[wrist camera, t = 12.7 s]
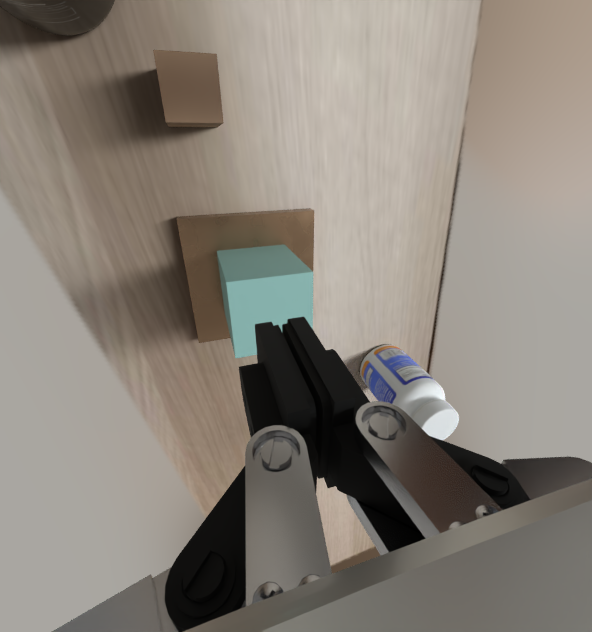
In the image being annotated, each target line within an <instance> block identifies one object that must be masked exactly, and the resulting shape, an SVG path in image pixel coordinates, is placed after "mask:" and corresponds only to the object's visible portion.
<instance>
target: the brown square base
mask: <svg viewBox="0 0 592 632" xmlns="http://www.w3.org/2000/svg"><path fill="white" fill-rule="evenodd" d="M177 225H178V230H179V236H180V241H181V247H182V252H183V258H184V263H185V269H186V274H187V280H188V285H189V291H190V297H191V302H192V308H193V313H194V319H195V324H196V330H197V335H198V341H199V343H202V342H208V341H214V340H220V339H226V338H231V337H230V333H229V328H228V324H227V320H226V316H225V310H224V303H223V295H222V288H221V280H220V273H219V265H218V257H217V251H220V250H231V249H241V248H252V247H262V246H273V245H284V244H285V245H286V246H287V247H288V248H289V249H290V250H291V251H292V252H293V253H294V254H295V255H296V256H297V257H298V258H299V259H300V260H301V261H302V262H303V263H304V264H305V265H307V266H308V267H309V268H310V269H311V270H312V271H313V248H314V210H312V209H294V210H278V211H262V212H246V213H230V214H214V215H198V216H182V217H177Z"/></svg>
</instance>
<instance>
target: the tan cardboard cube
mask: <svg viewBox="0 0 592 632" xmlns="http://www.w3.org/2000/svg"><path fill="white" fill-rule="evenodd" d="M153 51H154V57H155V63H156V69H157V74H158V80H159V86H160V92H161V98H162V103H163V109H164V115H165V121H166V123H167V125H168V126H169V127H218V126H220V125H221V124H223V114H222V104H221V94H220V84H219V74H218V64H217V54H210V53H195V52H179V51H163V50H153Z"/></svg>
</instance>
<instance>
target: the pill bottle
mask: <svg viewBox="0 0 592 632" xmlns="http://www.w3.org/2000/svg"><path fill="white" fill-rule="evenodd" d="M360 375H361V378H362V380H363V381H364V383H365V384H366V386H367V387H368V388H369V389H370V391H371V392H372V393H373V395H374V396H375V397H376V398H377V400H378V401H383V402H387V403H391V404H393V405H395V406H398V407H399V408H401V409H402V410H403V411H405V412H406V413H407V414H408V415H409V416H410V417H411V418H412V419H413V420H414V421H415V422H416V423H417V424H418V425H419V426H420V427H421V428H422V429H423V430H424V431H425V432H426V433H427V434H428V435H429V436H431V437H434V438H437V439H439V440H444V439H445V438H447V437H448V436H449V435H450V434H451V433H452V432H453V431H454V430H455V428H456V426H457V425H458V422H459V416H458V413H457V411H456V410H455V409H454V408H453V407H452V406H451V405H450V404H449V403H448V402H446V401H445V394H444V390H443V389H442V387H441V386H440V385H439V384H438V383H437V382H436V381H435V380H434V379H433V378H432V377H431V376H430V375H429V374H427V373H426V372H425V371H424V370H423V369H422V368H421V367H420V366H419V365H418V364H416V363H415V362H414V361H413V360H412V359H411V358H410V357H409V356H408V355H407V354H405V353H404V352H403V351H402V350H401V349H400V348H398V347H397V346H394V345H382V346H379V347H377V348H375V349H373V350H372V351H371V352H370V353H368V354H367V356H366V357H365V358H364V360H363V361H362V364H361V367H360Z"/></svg>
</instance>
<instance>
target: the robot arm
mask: <svg viewBox="0 0 592 632" xmlns="http://www.w3.org/2000/svg"><path fill="white" fill-rule="evenodd" d="M255 335H256V347H257V359H258V363H257V364H252V365H246V366H241V367H239V373H240V381H241V389H242V395H243V401H244V407H245V412H246V416H247V421H248V426H249V431H250V435H251V439H250V440H249V442H248V444H247V447H246V453H245V467H244V468H243V469H242V471H241V472H240V473H239V475H238V476H237V477H236V479H235V480H234V481H233V483H232V484H231V485H230V487H229V488H228V490H227V491H226V492H225V494H224V495H223V496H222V498H221V499H220V500H219V502H218V503H217V504H216V506H215V507H214V508H213V510H212V511H211V512H210V514H209V515H208V517H207V518H206V519H205V521H204V522H203V523H202V525H201V526H200V527H199V529H198V530H197V531H196V533H195V534H194V536H193V537H192V538H191V539H190V541H189V542H188V544H187V545H186V546H185V548H184V549H183V550H182V552H181V553H180V554H179V556H178V557H177V559H176V561H175V562H174V564H173V566H172V567H171V568H169V569H167V570H166V571H164V572H162V573H161V574H159V575H157V576H156V577H154V578H152V576H151V575H149V576H147V577H145V578H143V579H142V580H140V581H138V582H137V583H135V584H133V585H131V586H130V587H128V588H126V589H125V590H123V591H121V592H120V593H118V594H116V595H114V596H113V597H111V598H109V599H107V600H106V601H104V602H102V603H100V604H99V605H97V606H95V607H94V608H92V609H90V610H88V611H87V612H85V613H83V614H82V615H80V616H78V617H76V618H75V619H73V620H71V621H70V622H68V623H66V624H64V625H63V626H61V627H59V628H57V629H56V630H54V631H52V632H592V463H591V462H589V461H586V460H583V459H580V458H576V457H550V458H529V459H507V460H503V462H502V464H500V463H498V462H496V461H494V460H492V459H490V458H488V457H485V456H482V455H479V454H477V453H474V452H471V451H469V450H466V449H464V448H461V447H458V446H455V445H453V444H450V443H447V442H445V441H442V440H439V439H437V438H434V437H431V436H429V435H428V434H427V433H426V432H425V431H424V430H423V429H422V428H421V427H420V426H419V425H418V424H417V423H416V422H415V421H414V420H413V419H412V418H411V417H410V416H409V415H408V414H407V413H406V412H405V411H403V410H402V409H401V408H399V407H398V406H395V405H393V404H391V403H387V402H383V401H374V402H370V401H369V400H368V398H367V397H366V395H365V394H364V393H363V391H362V390H361V388H360V387H359V385H358V384H357V382H356V381H355V379H354V378H353V376H352V375H351V373H350V372H349V370H348V369H347V367H346V366H345V364H344V363H343V361H342V360H341V358H340V357H339V355H338V354H337V353H336V351H335V350H333V349H331V350H325V348H324V347H323V345H322V344H321V342H320V340H319V339H318V337H317V336H316V334H315V333H314V331H313V329H312V328H311V326H310V325H309V323H308V321H307V320H306V318H305V317H297V318H291V319H288V320H287V323H286V324H283V325H282V331H281V329H280V327H279V325H274V326H273V323H272V322H265V323H259V324H255ZM317 477H318V478H323V477H324V479H325V482H326V484H327V487H328V488H330V487H334V486H336V487H337V489H338V490H339V491H341V492H343V493H345V494H347V499H348V501H349V503H350V505H351V507H352V509H353V510H354V512H355V514H356V515H357V517H358V519H359V520H360V522H361V524H362V525H363V527H364V529H365V530H366V532H367V533H368V535H369V537H370V538H371V540H372V542H373V543H374V545H375V547H376V548H377V550H378V551H379V553H380V555H381V556H378V557H376V558H373V559H370V560H368V561H365V562H362V563H360V564H357V565H355V566H352V567H349V568H347V569H344V570H341V571H339V572H336V573H333V574H332V573H331V567H330V562H329V557H328V552H327V547H326V542H325V537H324V532H323V527H322V522H321V517H320V512H319V507H318V501H317V496H316V484H317Z"/></svg>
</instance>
